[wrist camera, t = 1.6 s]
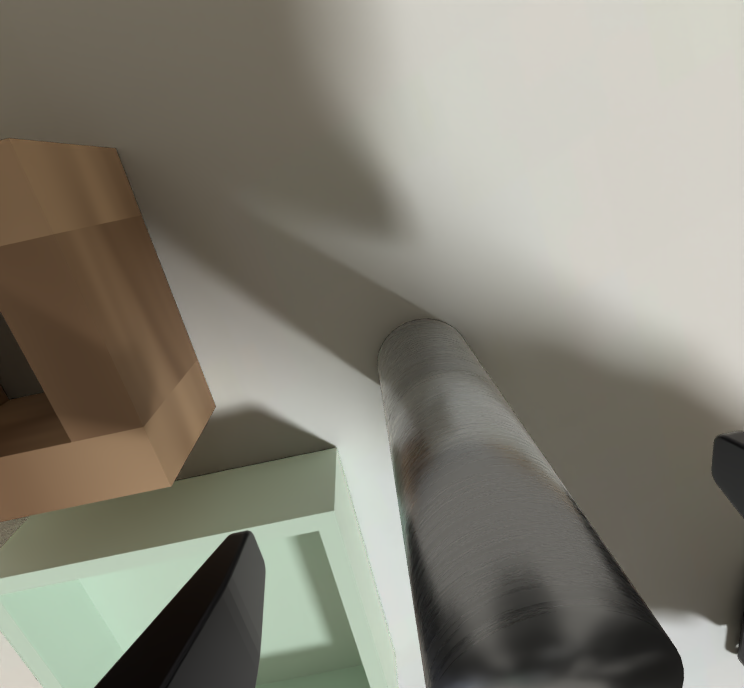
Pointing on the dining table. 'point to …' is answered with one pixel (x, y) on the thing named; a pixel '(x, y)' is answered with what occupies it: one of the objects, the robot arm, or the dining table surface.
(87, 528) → the tray
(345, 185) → the dining table surface
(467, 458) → the cylinder
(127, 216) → the brown square sleeve
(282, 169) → the dining table surface
